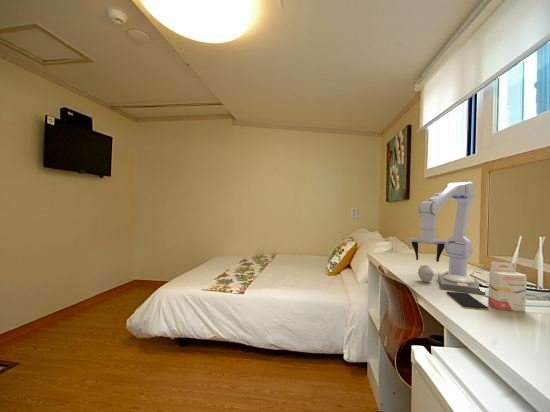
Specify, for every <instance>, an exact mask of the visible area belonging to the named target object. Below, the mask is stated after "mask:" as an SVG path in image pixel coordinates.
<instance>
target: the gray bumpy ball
mask: <svg viewBox="0 0 550 412" xmlns="http://www.w3.org/2000/svg"><path fill="white" fill-rule="evenodd" d="M417 274H418V277H419V279H420V280H421V281H422V282H424V283H429V282H431V281H432V280H433V278H434V275H435V274H434V271H433V270H432V269H431V267H430V265H425V264H423V265H420V267H419V268H418V269H417Z"/></svg>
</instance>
